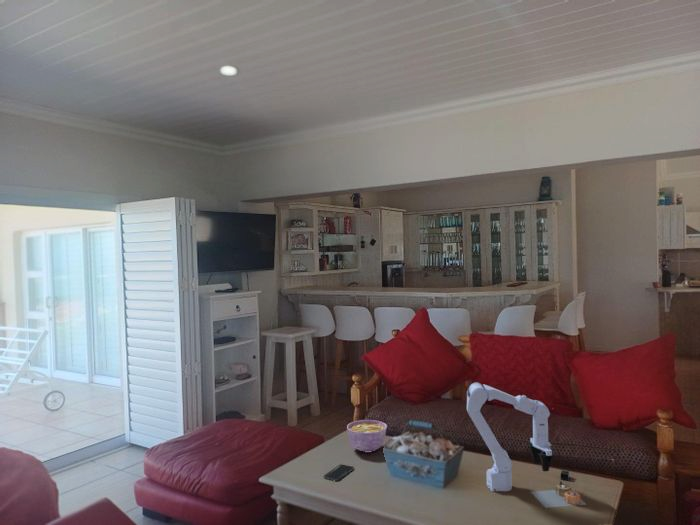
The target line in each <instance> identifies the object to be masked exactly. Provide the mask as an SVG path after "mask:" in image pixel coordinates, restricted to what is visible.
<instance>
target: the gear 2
mask: <svg viewBox="0 0 700 525" xmlns="http://www.w3.org/2000/svg"><path fill="white" fill-rule="evenodd" d="M571 492H572V493H574V496H572V495H570V493H571ZM580 499H581V494H579V492H576V491H574V490H571V491H566V492H565V493H564V500H565V501H566V502H567V503H570V504H579V502H580Z"/></svg>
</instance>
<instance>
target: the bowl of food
mask: <svg viewBox="0 0 700 525" xmlns="http://www.w3.org/2000/svg"><path fill="white" fill-rule="evenodd" d="M387 429H388V425H387V424H386V423H385V422H382V421H379V420H374V419H362V420H360V419H359V420H356V421H351V422H350V423H348V424H347V425H346V430H347V432H348V434H347V435H348V436H349V437H348V438H349V441H350V444H351V445H352V447H353V448H355V449H356V450H358V451H360V452H361V451H373V452H375V451H376V450H378V449H380V448H382V447H383V444H384V442H385V439H386V433H387ZM374 450H375V451H374Z"/></svg>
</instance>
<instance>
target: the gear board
mask: <svg viewBox="0 0 700 525" xmlns="http://www.w3.org/2000/svg"><path fill="white" fill-rule="evenodd" d="M562 488H565V485H562ZM530 493H531V495H532V496H533V497H534V498H535V499H536V500H537V501H539V503H540V504H541V505H542V506H543V507H544V508H546V509H547V508H558V507H559V508H562V507H570V506H571V507H573V506H585V505H587V503H586V502H584V501H583V499H581V498H580V502H579V504H570V503H567V502H566V501H565V500H564V496H560V495H558V494H557V493H556V489H548V490H536V491H535V490H533V491H530ZM570 495H572V496H574V493H572V492H571V493H570Z"/></svg>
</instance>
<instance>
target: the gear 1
mask: <svg viewBox="0 0 700 525" xmlns="http://www.w3.org/2000/svg"><path fill="white" fill-rule="evenodd" d="M562 485H565V488H562ZM555 490H556V493H557V494H558V495H560V496H564V493H565V492H566V491H572V487H571V486H570V485H569V484H566V483H563V480H561V481H559V483H556V485H555Z"/></svg>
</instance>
